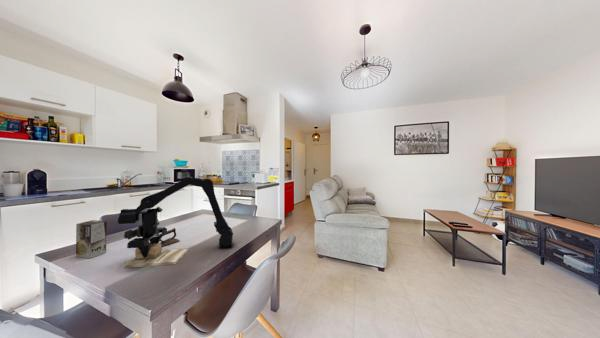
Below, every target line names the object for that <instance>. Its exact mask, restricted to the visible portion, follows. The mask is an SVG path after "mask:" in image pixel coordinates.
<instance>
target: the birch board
mask: <svg viewBox="0 0 600 338" xmlns="http://www.w3.org/2000/svg"><path fill="white" fill-rule="evenodd" d="M188 251H189V248H176V249H161V254H160V255H159V256H158V257H156V258H155V259H143V260H135V257H134V258H132V259H131V260H130V261H128V262H127V263H125V264H124V265H123V269H126V268H139V267H140V268H141V267H142V268H144V267H154V266H167V265H169V266H170V265H176V264H177V262H179V261H180V260H181V259H182V258H183V257H184V256H185V255H186V254H187V252H188Z"/></svg>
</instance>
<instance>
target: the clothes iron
mask: <svg viewBox="0 0 600 338" xmlns="http://www.w3.org/2000/svg"><path fill="white" fill-rule="evenodd" d="M172 233H173V234H174V235H173V236H172V237H169V238H166V239H164V240H162V239H161V240H160V242H159V243H158V244H161V243H162V246H161V248H164V247H168V246H169V247H170V246H172V245H175V244H177V243H179V242H180V241H181V240H180V239H178V238H176V237H177V233H176V228H175V227H174V228H172V229H169V230H167V233H165V234H162V233H159V234H160V235H163V237H164V236H166V235H167V236H168V235H169V234H172Z"/></svg>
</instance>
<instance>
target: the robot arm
mask: <svg viewBox="0 0 600 338" xmlns="http://www.w3.org/2000/svg"><path fill="white" fill-rule="evenodd" d="M189 185H190V186H195V187H199V188H202V190H203V192H204V194H205V195H206V197H207V199H208V202H209V204H210V207H211V209H212V213H213V215H214V218H215V221H214V222H213V226H214V228H215V232H216V233H217V234H219V235H220V237H219V238H218V246H219V247H218V249H231V248H232V247H233V245H234V232H233V229H232V228H231V226H229V223H228V221H226V219H225V217H224V216H223V213H222V211H221V208H220V205H219V202H218V199H217V197H216V194H215V188H214V182H213V180H212V179H211V178H206V177H205V178H199V177H193V176H187V177H185V178H184V179H182V180H180V181H178V182H177V183H174V184H173V185H171V186H169V187H167V188H165V189H164V190H160V191H157V192H155V193H152V194H150V195H146V196H144V197H142V199H141V200H140V202H139V203H140V204H139V205H138V206H137V207H136V208H122V209H120V213H119V214H118V218H117V223H118V225H119V226H120V225H121V226H123V225H131V224H133V225H134V224H137V223H138V222H139V221H141V224H140V225H139V226H138V227H137V228H135V229H129V230H126V231H124V235H123V238H124V239H126V240H129V241H128V242H127V245H126V248H127V249H136V248H139V250H140V251H141V253H142V256H143V258H146V257H147V255H148V252H149V249H150V247H151V244H159V243H161V241H162V238H163V237H164V236H163V235H160V234H161V233H162V234H165V233H167V231H168V228H166V227H165V226H164V227H163V226H161V227H160V226H159V225H160V222H158V213H162V212H163V210H164V209H162V208H161V207H160V206H157V205H158V204H159V203H161V202H162V201H164V200H165V199H166V198H168V197H169V196H171V195H173V194H174V193H176V192H178V191H180V190H182V189H184V188H185V187H187V186H189ZM156 206H157V207H156ZM154 207H156V208H154ZM158 226H159V227H158ZM131 239H132V240H131ZM160 240H161V241H160Z"/></svg>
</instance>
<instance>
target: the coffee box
mask: <svg viewBox="0 0 600 338" xmlns="http://www.w3.org/2000/svg"><path fill="white" fill-rule="evenodd" d="M107 224H108V221H107V220H97V219H95V220H94V219H93V220H88V221H83V222H80V223H76V224H75V227H76V230H75V231H76V232H75V238H76V239H75V242H76V244H75V257H76V258H83V259H92V258H95V257H98V256H101V255H103V254H106V253H107V237H108V236H107V234H108V233H107V231H108V229H107V226H108V225H107Z"/></svg>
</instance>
